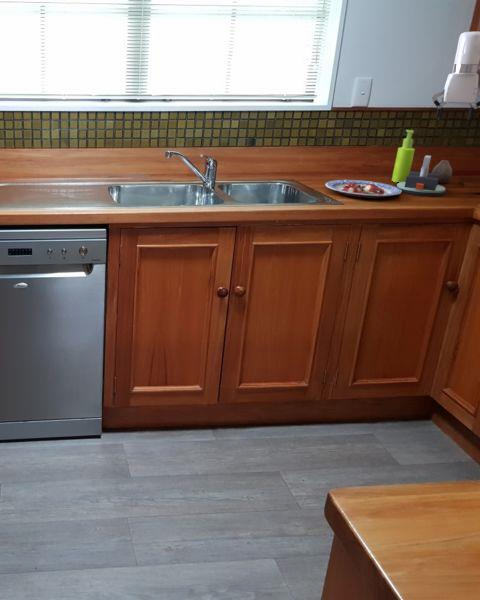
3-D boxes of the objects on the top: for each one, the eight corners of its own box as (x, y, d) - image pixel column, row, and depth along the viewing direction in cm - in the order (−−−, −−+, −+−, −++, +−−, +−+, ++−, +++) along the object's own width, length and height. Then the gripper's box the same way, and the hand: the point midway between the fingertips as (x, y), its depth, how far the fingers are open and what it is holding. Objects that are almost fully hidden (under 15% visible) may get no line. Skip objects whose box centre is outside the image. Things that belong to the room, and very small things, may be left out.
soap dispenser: (406, 180, 247) (417, 129, 239) (408, 183, 241) (420, 131, 233) (390, 179, 249) (400, 128, 241) (392, 182, 243) (403, 131, 235)
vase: (430, 183, 242) (436, 161, 238) (428, 180, 248) (434, 158, 244) (450, 185, 239) (456, 162, 236) (448, 181, 245) (453, 159, 242)
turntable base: (441, 189, 232) (442, 186, 232) (449, 198, 218) (449, 195, 217) (392, 185, 238) (393, 182, 237) (396, 194, 223) (397, 191, 223)
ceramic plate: (324, 183, 239) (325, 175, 238) (396, 188, 231) (397, 181, 230) (325, 197, 217) (326, 189, 216) (404, 204, 209) (406, 195, 208)
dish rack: (399, 181, 237) (406, 151, 233) (446, 187, 230) (454, 155, 225) (394, 189, 225) (401, 157, 220) (443, 194, 217) (451, 162, 213)
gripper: (490, 69, 215) (479, 119, 222) (435, 69, 221) (426, 118, 227) (495, 70, 209) (483, 121, 215) (439, 70, 214) (428, 120, 221)
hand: (454, 119), depth 221 cm, fingers open, 9 cm apart
